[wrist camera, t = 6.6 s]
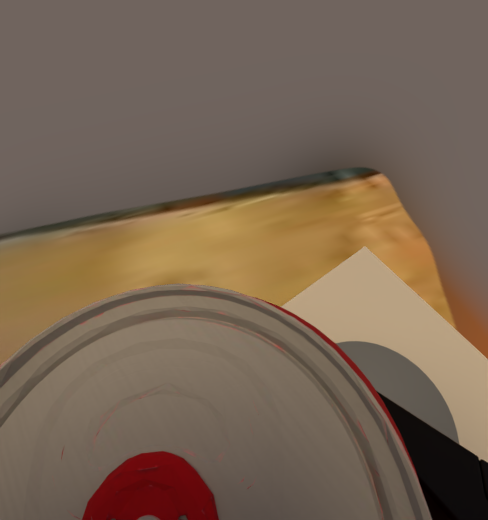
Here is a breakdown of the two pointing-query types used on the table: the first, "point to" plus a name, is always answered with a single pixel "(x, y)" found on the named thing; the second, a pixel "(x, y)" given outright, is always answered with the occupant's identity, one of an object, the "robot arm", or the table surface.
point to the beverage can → (196, 418)
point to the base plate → (402, 347)
